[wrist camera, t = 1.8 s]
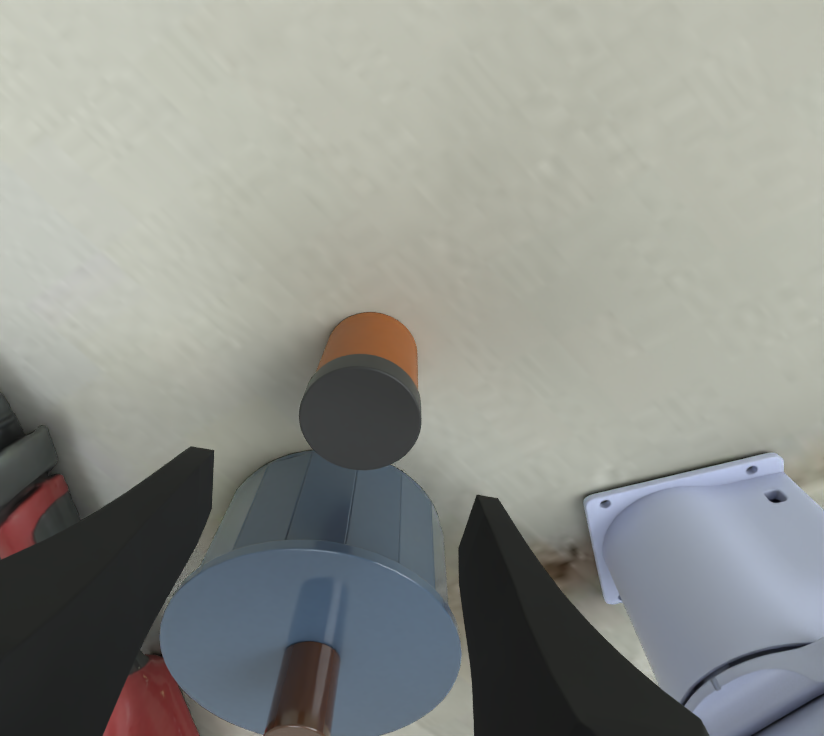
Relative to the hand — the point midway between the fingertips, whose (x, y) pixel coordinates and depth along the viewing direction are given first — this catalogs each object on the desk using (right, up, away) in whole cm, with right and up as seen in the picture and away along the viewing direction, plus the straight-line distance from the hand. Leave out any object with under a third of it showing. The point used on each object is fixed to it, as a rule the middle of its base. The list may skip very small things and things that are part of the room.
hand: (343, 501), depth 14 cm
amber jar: (0, +4, +8) cm, 9 cm away
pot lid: (-2, -8, +7) cm, 11 cm away
